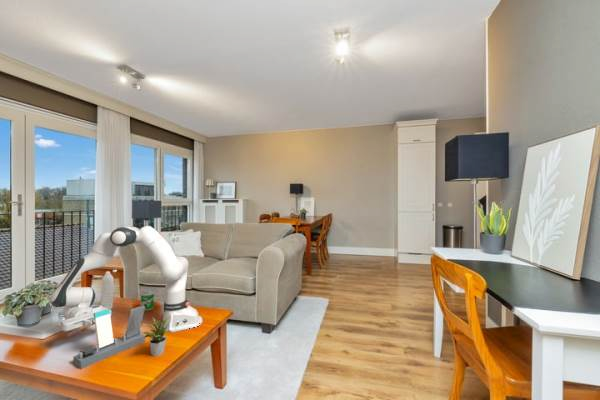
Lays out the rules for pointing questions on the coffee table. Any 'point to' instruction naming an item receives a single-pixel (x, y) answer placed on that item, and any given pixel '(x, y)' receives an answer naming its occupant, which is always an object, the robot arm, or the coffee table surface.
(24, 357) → the coffee table surface
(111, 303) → the water bottle
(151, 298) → the soda can
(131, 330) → the grey upright panel
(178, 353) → the coffee table surface
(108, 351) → the grey holder rack
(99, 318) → the white paddle
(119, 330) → the coffee table surface
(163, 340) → the house plant
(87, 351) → the black rocker
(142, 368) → the coffee table surface
